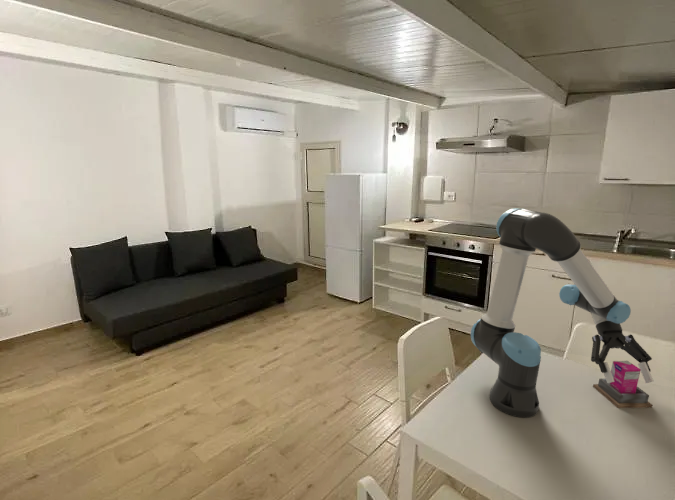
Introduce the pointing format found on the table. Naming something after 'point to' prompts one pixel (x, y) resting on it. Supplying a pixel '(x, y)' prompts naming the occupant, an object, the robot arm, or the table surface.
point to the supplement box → (625, 377)
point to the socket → (623, 396)
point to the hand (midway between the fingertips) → (630, 382)
